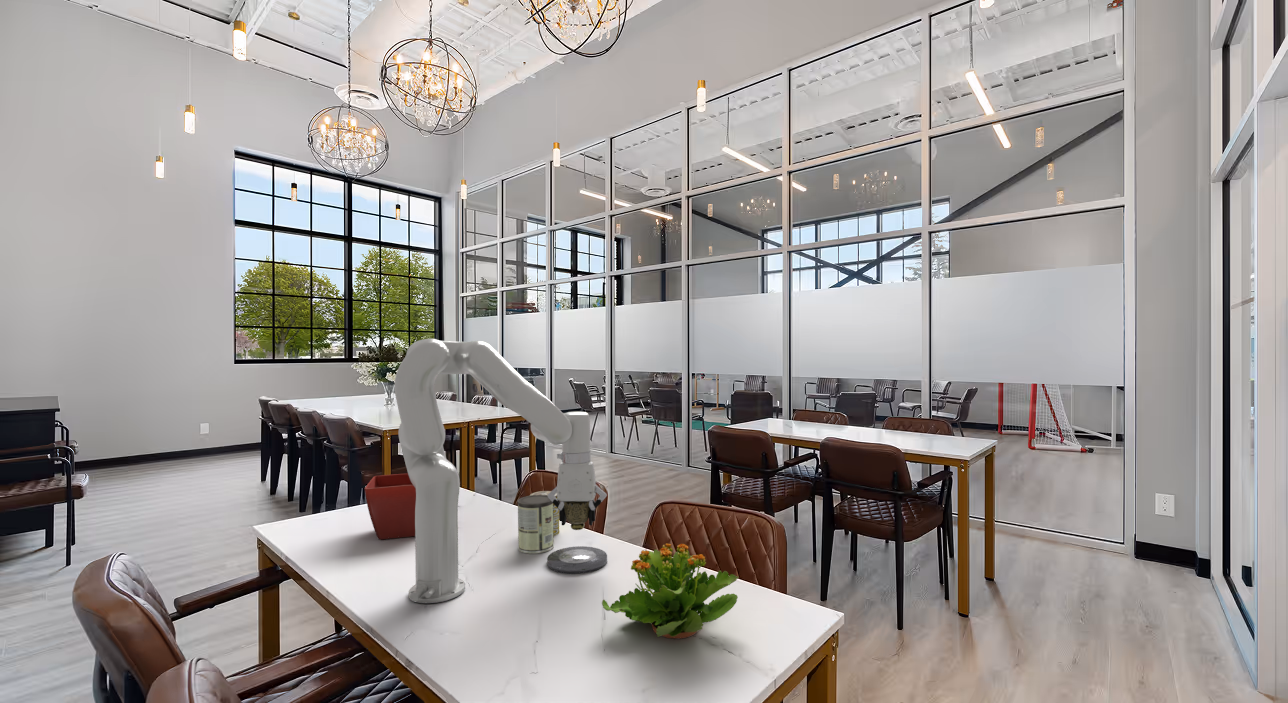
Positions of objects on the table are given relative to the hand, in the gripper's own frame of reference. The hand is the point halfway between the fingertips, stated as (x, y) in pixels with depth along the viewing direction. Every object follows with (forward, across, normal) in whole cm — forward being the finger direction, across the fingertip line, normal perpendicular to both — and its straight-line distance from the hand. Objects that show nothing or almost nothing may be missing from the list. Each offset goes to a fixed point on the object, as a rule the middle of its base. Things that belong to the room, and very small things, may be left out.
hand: (577, 523), depth 152 cm
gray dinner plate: (+10, 0, 0) cm, 10 cm away
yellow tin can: (+11, -15, +24) cm, 30 cm away
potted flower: (+11, +27, -35) cm, 45 cm away
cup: (+2, 0, 0) cm, 2 cm away
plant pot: (+10, -60, +24) cm, 66 cm away
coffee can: (+11, -14, +11) cm, 21 cm away
